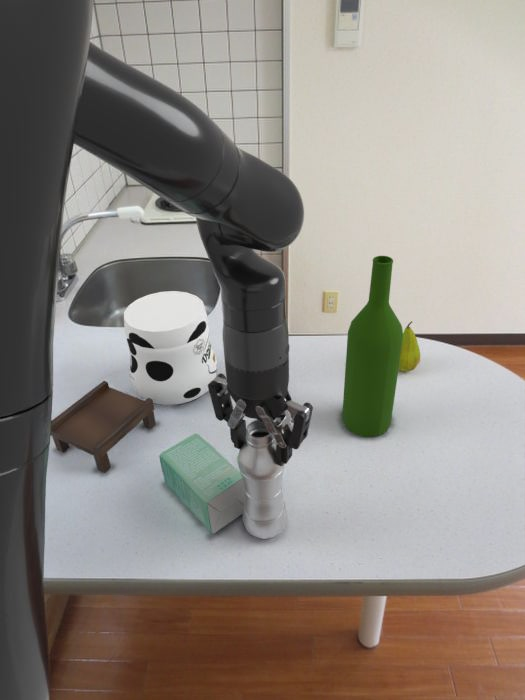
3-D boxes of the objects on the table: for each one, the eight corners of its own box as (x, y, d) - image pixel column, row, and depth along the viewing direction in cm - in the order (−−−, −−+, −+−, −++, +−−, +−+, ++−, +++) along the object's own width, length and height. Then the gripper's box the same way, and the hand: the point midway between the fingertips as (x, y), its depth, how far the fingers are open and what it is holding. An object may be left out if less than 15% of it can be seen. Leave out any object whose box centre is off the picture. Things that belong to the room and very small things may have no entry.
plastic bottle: (295, 531, 78) (296, 433, 67) (256, 552, 75) (249, 453, 64) (273, 502, 83) (270, 405, 71) (235, 520, 80) (225, 423, 69)
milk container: (236, 383, 108) (229, 307, 98) (169, 426, 98) (154, 346, 88) (182, 351, 118) (172, 280, 108) (117, 388, 108) (98, 312, 98)
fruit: (402, 355, 114) (409, 307, 107) (425, 369, 109) (433, 320, 103) (381, 366, 111) (387, 318, 104) (404, 381, 107) (411, 331, 100)
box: (200, 461, 90) (195, 429, 86) (250, 509, 82) (247, 476, 77) (163, 483, 87) (156, 451, 82) (212, 536, 78) (207, 503, 74)
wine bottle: (399, 417, 98) (424, 256, 79) (375, 445, 92) (395, 278, 74) (357, 399, 102) (371, 242, 84) (332, 424, 97) (341, 262, 78)
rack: (104, 474, 89) (96, 448, 85) (55, 450, 94) (45, 424, 90) (157, 424, 98) (152, 399, 95) (110, 405, 104) (103, 380, 100)
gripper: (186, 350, 61) (201, 452, 71) (297, 385, 55) (296, 492, 64) (222, 319, 66) (231, 419, 76) (326, 349, 60) (322, 453, 70)
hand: (261, 452), depth 70 cm, fingers closed on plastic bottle, 6 cm apart
